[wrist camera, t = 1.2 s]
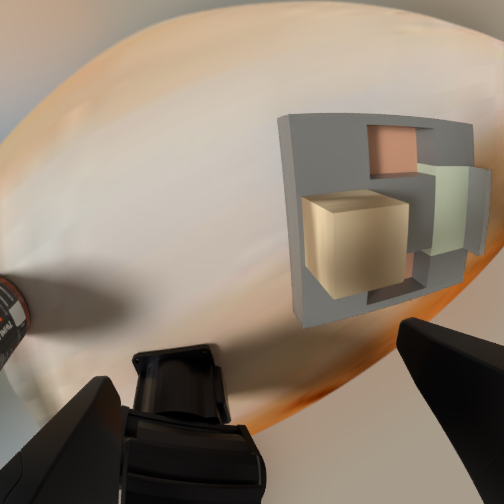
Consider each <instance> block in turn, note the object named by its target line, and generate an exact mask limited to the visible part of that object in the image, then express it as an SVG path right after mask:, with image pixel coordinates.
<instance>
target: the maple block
mask: <svg viewBox="0 0 504 504" xmlns="http://www.w3.org/2000/svg"><path fill="white" fill-rule="evenodd" d="M301 199H302V213H303V228H304V246H305V266H306V267H307V268H308V270H309V271H310V272H311V273H312V274H313V276H314V277H315V278H316V279H317V280H318V282H319V283H320V284H321V285H322V286H323V287H324V289H325V290H326V291H327V292H328V293H329V295H330V296H331V297H332V298H333V299H338V298H343V297H347V296H351V295H355V294H359V293H363V292H367V291H371V290H375V289H379V288H383V287H386V286H390V285H394V284H398V283H401V282H403V281H404V272H405V262H406V251H407V237H408V218H409V204H408V203H405V202H403V201H400V200H397V199H394V198H391V197H388V196H385V195H382V194H379V193H376V192H373V191H370V190H367V189H365V190H355V191H345V192H336V193H327V194H318V195H310V196H302V197H301Z"/></svg>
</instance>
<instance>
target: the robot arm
mask: <svg viewBox="0 0 504 504" xmlns="http://www.w3.org/2000/svg"><path fill="white" fill-rule="evenodd" d="M396 346H397V349H398V351H399V353H400V355H401V357H402V359H403V361H404V363H405V365H406V367H407V369H408V370H409V373H410V375H411V377H412V378H413V380H414V383H415V384H416V386H417V388H418V390H419V391H420V393H421V394H422V396H423V397H424V399H425V401H426V402H427V404H428V405H429V407H430V409H431V410H432V412H433V413H434V415H435V417H436V418H437V420H438V422H439V423H440V425H441V426H442V428H443V430H444V431H445V433H446V435H447V436H448V438H449V440H450V442H451V443H452V445H453V447H454V448H455V450H456V452H457V454H458V455H459V457H460V459H461V460H462V462H463V464H464V466H465V468H466V470H467V472H468V473H469V475H470V477H471V479H472V481H473V483H474V485H475V487H476V489H477V490H478V493H479V495H480V496H481V498H482V500H483V502H484V504H504V346H502V345H499V344H496V343H493V342H489V341H486V340H483V339H479V338H477V337H474V336H470V335H467V334H464V333H461V332H458V331H455V330H452V329H448V328H445V327H442V326H439V325H436V324H433V323H430V322H427V321H424V320H421V319H417V318H414V317H411V318H408V319H405V320H402V321H401V323H400V325H399V331H398V336H397V341H396ZM203 351H207V352H206V353H204V352H203ZM137 359H138V360H140V361H137ZM132 363H133V365H134V367H135V369H136V371H137V374H138V381H137V387H136V393H135V399H134V405H133V409H130V408H129V407H127V406H123V405H122V406H121V400H120V396H119V394H118V392H117V391H116V389H115V387H114V385H113V383H112V381H111V379H110V378H109V377H108V376H96V377H94V378H92V379H91V380H90V381H89V382H88V383H87V384H86V385H85V386H84V387H83V388H82V389H81V390H80V391H79V392H78V393H77V394H76V395H75V396H74V397H73V398H72V399H71V400H70V401H69V402H68V403H67V404H66V405H65V406H64V407H63V408H62V409H61V410H60V411H59V412H58V413H57V414H56V415H55V416H54V417H53V418H52V419H51V420H50V421H49V422H48V423H47V424H46V425H45V426H44V427H43V428H42V429H41V430H40V431H39V432H38V433H37V434H36V435H35V436H34V437H33V438H32V439H31V440H30V441H29V442H28V443H27V444H26V445H25V446H24V447H23V448H22V449H21V451H19V452H18V453H17V454H16V455H15V456H14V457H13V458H12V459H11V460H10V461H9V462H8V463H7V464H6V465H5V466H4V467H3V468H2V469H1V470H0V504H118V499H119V497H118V496H119V490H122V493H121V504H261V499H262V497H263V495H264V492H265V488H266V467H265V463H264V460H263V458H262V456H261V454H260V452H259V450H258V449H257V447H256V445H255V443H254V441H253V439H252V437H251V435H250V433H249V431H248V429H247V427H246V426H245V425H237V426H235V425H224V424H228V423H230V421H231V416H230V410H229V404H228V397H227V391H226V385H225V382H224V378H223V374H222V370H221V368H220V367H219V366H215V363H214V359H213V355H212V351H211V348H210V347H209V346H207V345H202V346H195V347H189V348H182V349H174V350H167V351H159V352H150V353H141V354H135V355H134V356H133V358H132Z"/></svg>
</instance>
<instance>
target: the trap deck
mask: <svg viewBox="0 0 504 504" xmlns="http://www.w3.org/2000/svg"><path fill="white" fill-rule="evenodd" d="M277 120H278V129H279V138H280V148H281V158H282V168H283V178H284V189H285V200H286V212H287V224H288V237H289V250H290V264H291V280H292V297H293V311H294V313H295V315H296V317H297V319H298V320H299V322H300V324H301V326H302V328H303V329H306V328H310V327H314V326H319V325H323V324H327V323H331V322H335V321H339V320H343V319H346V318H350V317H354V316H358V315H361V314H365V313H368V312H372V311H375V310H379V309H382V308H386V307H389V306H392V305H396V304H399V303H402V302H405V301H409V300H412V299H415V298H418V297H421V296H424V295H427V294H430V293H433V292H436V291H439V290H442V289H444V288H447V287H450V286H453V285H456V284H458V283H461V282H462V280H463V275H464V270H465V264H466V258H467V251H470V252H472V253H474V254H476V255H478V256H480V255H483V254H484V249H485V243H486V236H487V228H488V219H489V208H490V194H491V170H489V169H484V168H479V167H475V166H474V141H473V125H472V124H466V123H460V122H454V121H447V120H439V119H431V118H422V117H412V116H400V115H385V114H361V113H311V114H288V115H285V116H282V117H279V118H277ZM365 189H367V190H370V191H373V192H376V193H379V194H382V195H385V196H388V197H391V198H394V199H397V200H400V201H403V202H405V203H408V204H409V218H408V237H407V251H406V262H405V272H404V281H403V282H401V283H398V284H394V285H390V286H386V287H383V288H379V289H375V290H371V291H367V292H363V293H359V294H355V295H351V296H347V297H343V298H338V299H333V298H332V297H331V296H330V295H329V293H328V292H327V291H326V290H325V289H324V287H323V286H322V285H321V284H320V283H319V282H318V280H317V279H316V278H315V277H314V276H313V274H312V273H311V272H310V271H309V270H308V268H307V267H306V266H305V246H304V228H303V213H302V199H301V197H302V196H310V195H318V194H327V193H336V192H345V191H355V190H365Z"/></svg>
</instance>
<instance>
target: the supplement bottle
mask: <svg viewBox="0 0 504 504" xmlns="http://www.w3.org/2000/svg"><path fill="white" fill-rule="evenodd" d="M29 325H30V315H29V311H28V308H27V305H26V302H25V300H24V298H23V297H22V295H21V294H20V292H19V291H18V290H17V289H16V287H15V286H14V285H13V284H11V283H10V282H9V281H7V280H5V279H4V278H1V277H0V371H1V369H2V368H3V366H4V365H5V363H6V362H7V360H8V359H9V357H10V356H11V354H12V353H13V351H14V350H15V349H16V347H17V346H18V345H19V343H20V342H21V340H22V339H23V338H24V336H25V334H26V333H27V331H28V329H29Z"/></svg>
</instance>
